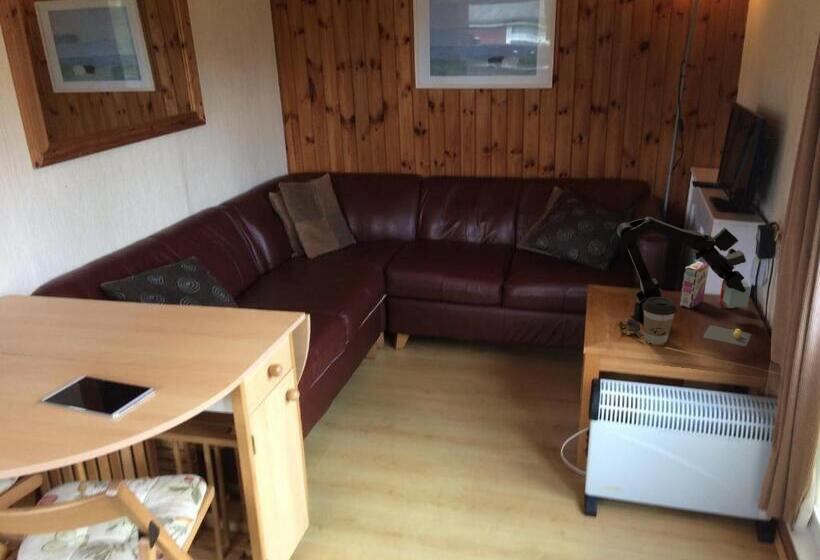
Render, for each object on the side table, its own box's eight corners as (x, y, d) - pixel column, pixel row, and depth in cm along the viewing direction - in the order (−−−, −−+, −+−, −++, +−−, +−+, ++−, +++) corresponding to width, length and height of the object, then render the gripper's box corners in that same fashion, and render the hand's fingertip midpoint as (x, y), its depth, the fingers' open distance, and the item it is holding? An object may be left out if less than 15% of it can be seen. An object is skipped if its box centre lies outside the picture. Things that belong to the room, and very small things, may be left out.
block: (728, 306, 238) (732, 286, 235) (723, 300, 243) (726, 280, 241) (747, 307, 237) (750, 286, 234) (741, 300, 243) (744, 280, 240)
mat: (702, 338, 230) (703, 331, 229) (709, 326, 239) (710, 319, 238) (745, 348, 222) (747, 340, 221) (751, 335, 231) (752, 327, 230)
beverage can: (737, 310, 252) (742, 281, 248) (720, 309, 253) (725, 280, 249) (733, 304, 258) (738, 276, 254) (716, 303, 259) (721, 275, 255)
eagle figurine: (614, 333, 233) (639, 335, 227) (616, 314, 234) (641, 316, 229) (622, 338, 239) (646, 340, 233) (624, 319, 240) (648, 321, 234)
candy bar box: (691, 309, 254) (696, 270, 248) (679, 305, 258) (684, 267, 252) (704, 301, 261) (709, 263, 255) (692, 298, 265) (697, 260, 259)
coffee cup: (641, 347, 225) (646, 307, 220) (635, 333, 235) (639, 295, 230) (675, 348, 223) (681, 308, 218) (668, 334, 234) (673, 296, 229)
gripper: (742, 252, 224) (770, 283, 226) (724, 237, 241) (751, 265, 244) (715, 273, 228) (743, 303, 230) (699, 256, 245) (726, 284, 247)
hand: (741, 288), depth 238 cm, fingers closed on block, 6 cm apart
